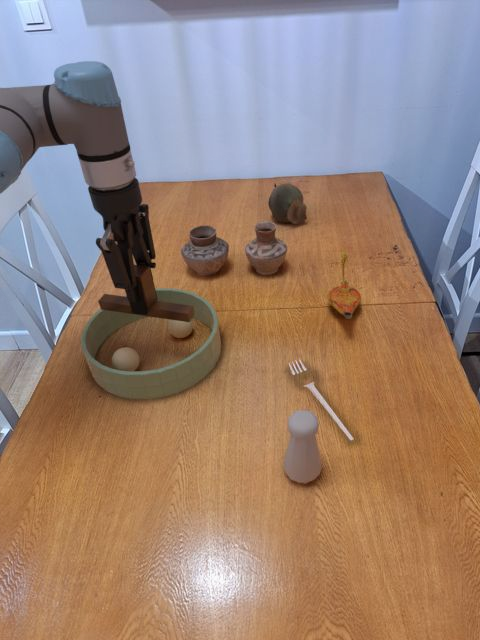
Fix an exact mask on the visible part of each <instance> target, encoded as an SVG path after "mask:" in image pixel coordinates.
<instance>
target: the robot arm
mask: <svg viewBox="0 0 480 640" xmlns="http://www.w3.org/2000/svg"><path fill="white" fill-rule="evenodd" d="M53 78H54V82H53V83H51V84H44V85H30V86H29V85H28V86H27V85H26V86H13V87H12V86H11V87H0V195H1V194H2V193H4V192H5V191H6V190H7V189H8V188H10V186H11V185H13V184H14V183H16V182H17V180H18V179H19V178H20V176H21V174H22V171H23V169H24V168H25V166H26V165H27V163H28V162H29V161H30V160H31V159H32V158H33V157H34V155H35V154H36V153H37V151H38V150H39V149H40V148H44V147H47V148H48V147H56V146H57V147H58V146H68V145H73V146H74V148H75V150H76V155H77V158H78V161H79V165H80V168H81V171H82V175H83V178H84V183H86V184H87V186H88V187H87V191H88V194H89V197H90V200H91V204H92V207H93V209H94V211H95V212H96V213H98V214H99V215H100V216H101V218H102V227H103V230H104V233H103V234H102V237H97V238H96V240H95V245H96V246H97V248H98V249H99V250H100V252H101V254H102V256H103V260H104V263H105V265H106V268H107V270H108V273H109V275H110V279H111V282H112V284H113V287H114V288H115V289H119V290H124V291H125V295H127V299H128V301H129V303H130V306H131V309H132V313H134V314H141V315H147V313H148V311H147V307H146V303H145V300H144V296H143V292H142V288H141V284H140V282H137V281H136V275H135V268H134V265H141V266H149V267H150V271H151V275H152V280H153V284H154V288H155V289H156V286H155V281H154V275H153V271H152V269H156V266H157V263H156V262H153V260H155V259H156V249H155V245H154V244H155V243H154V240H153V233H152V228H151V222H150V214H149V213H150V211H149V209H150V207H149V204H147V203H142V202H143V196H142V192H141V188H140V184H139V183H140V182H139V180H138V178H136V177H137V171H136V166H135V163H136V162H135V161H134V158H133V154H132V150H131V144H130V140H129V135H128V132H127V125H126V123H125V117H124V112H123V106H122V100H121V97H120V95H119V92H118V89H117V85H116V82H115V78H114V75H113V72H112V70H111V68H110V67H109V66H108V65H107V64H105V63H104V62H101V61H95V60H85V61H77V62H71V63H66V64H63V65H60V66H58V67H56V68H55V69H54V71H53ZM134 262H135V263H134ZM155 292H156V290H155ZM156 296H157V294H156ZM157 300H158V298H157ZM157 300H156V301H157Z"/></svg>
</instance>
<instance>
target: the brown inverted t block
mask: <svg viewBox="0 0 480 640" xmlns="http://www.w3.org/2000/svg"><path fill="white" fill-rule="evenodd" d="M134 268H135V275H136V281H137V282H140V284H141V288H142V292H143V296H144V300H145V303H146V307H147V311H148V313H147V315H142V316H147V317H149V318H157V319H164V320H177V321H184V322H190V321H191V320H193V319H194V318H193V316H194V315H195V314H194V309H193V306H190V305H183V304H176V303H168V302H161V301H156V300H157V296H156V292H155V289H156V287H155V288H154V286H155V283H154V284H153V281H154V279H153V280H152V276H153V274H152V275H151V272H152V270H151V271H150V267H149V266H141V265H136V264H134ZM98 305H99V308H100V309H101V310H108V311H115V312H122V313H129V314H134V313H132V309H131V306H130V303H129V301H128V299H127V297H125V295H116V294H110V293H109V294H108V293H104V294H103V295H102V296H101V297H100V298H99V299H98ZM136 315H141V314H136Z"/></svg>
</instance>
